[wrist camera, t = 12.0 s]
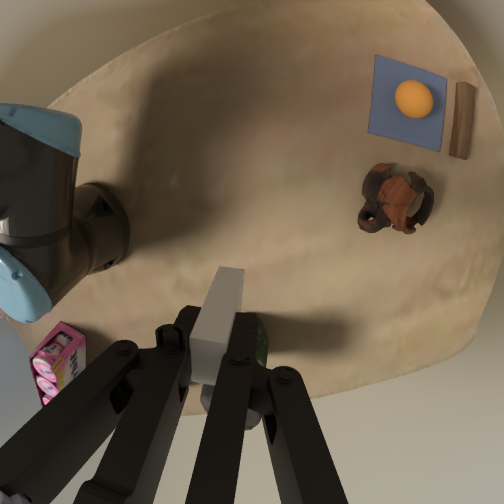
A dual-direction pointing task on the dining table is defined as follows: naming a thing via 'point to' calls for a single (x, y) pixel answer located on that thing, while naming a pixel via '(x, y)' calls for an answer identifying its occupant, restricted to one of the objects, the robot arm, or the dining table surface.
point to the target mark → (388, 114)
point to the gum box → (57, 361)
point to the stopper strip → (462, 120)
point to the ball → (414, 99)
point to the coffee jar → (261, 358)
